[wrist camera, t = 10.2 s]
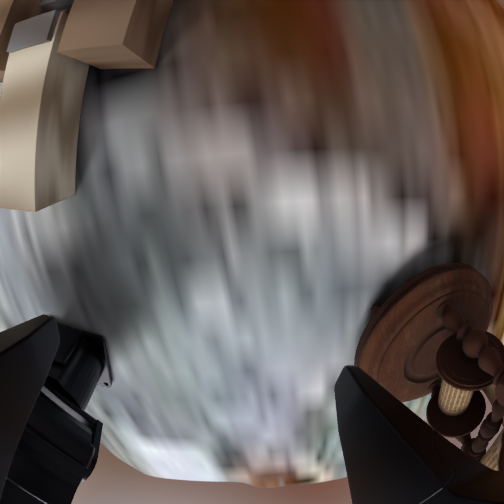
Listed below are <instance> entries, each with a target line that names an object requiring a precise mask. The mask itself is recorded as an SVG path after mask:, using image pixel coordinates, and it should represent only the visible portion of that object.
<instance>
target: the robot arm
mask: <svg viewBox="0 0 504 504" xmlns="http://www.w3.org/2000/svg"><path fill="white" fill-rule="evenodd" d="M99 341H100V342H99ZM96 385H101V386H104V387H108V388H109V387H111V385H112V380H111V375H110V369H109V364H108V358H107V351H106V345H105V340H104V338H103V337H101V336H99V335H95V334H92V333H88V332H85V331H81V330H78V329H74V328H71V327H68V326H64V325H61V324H58V323H57V322H56V320H55V318H54V317H52V316H49V315H45V314H43V315H41V316H38V317H36V318H33V319H31V320H29V321H26V322H24V323H21V324H19V325H17V326H14V327H12V328H9V329H7V330H5V331H2V332H0V504H71V502H72V500H73V497H74V494H75V492H76V490H77V487H78V486H79V484H80V483H81V482H84V481H85V480H86V479H87V478H88V477H89V476H90V475H91V473H92V471H93V469H94V467H95V465H96V462H97V458H98V452H99V445H100V439H101V432H102V426H103V423H102V422H100V421H99V420H96V419H94V418H93V417H92V416H90V415H89V414H87V413H86V412H85V409H86V407H87V404H88V402H89V400H90V398H91V396H92V394H93V392H94V389H95V387H96ZM334 390H335V400H336V411H337V422H338V431H339V436H340V441H341V446H342V451H343V456H344V461H345V466H346V471H347V477H348V482H349V487H350V493H351V499H352V504H504V471H497V470H493V469H491V468H489V467H487V466H485V465H484V464H482V463H481V462H479V461H478V460H476V459H474V458H473V457H471V456H470V455H468V454H467V453H465V452H464V451H462V450H461V449H459V448H458V447H456V446H455V445H454V444H452V443H451V442H450V441H448V440H447V439H446V438H444V437H443V436H442V435H441V434H439V433H438V432H437V431H436V430H433V428H432V427H431V426H429V425H428V424H427V423H426V422H425V421H423V420H422V419H421V418H420V417H418V416H417V415H416V414H415V413H414V412H412V411H411V410H410V409H409V408H408V407H406V406H405V405H404V404H403V403H402V402H400V401H399V400H398V399H397V398H396V397H394V396H393V395H392V394H391V393H390V392H388V391H387V390H386V389H385V388H384V387H382V386H381V385H380V384H379V383H378V382H376V381H375V380H374V379H373V378H372V377H371V376H369V375H368V374H367V373H366V372H365V371H363V370H362V369H361V368H360V367H359V366H355V365H347V366H345V367H344V368H343V370H342V372H341V374H340V376H339V378H338V379H337V381H336V384H335V389H334Z"/></svg>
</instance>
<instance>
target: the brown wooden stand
mask: <svg viewBox="0 0 504 504" xmlns="http://www.w3.org/2000/svg"><path fill="white" fill-rule="evenodd" d="M492 309H493V296H492V291H491V287H490V285H489V283H488V281H487V280H486V278H485V277H484V276H483V275H482V274H480V273H479V272H478V271H476V270H475V269H474V268H472V267H470V266H468V265H466V264H462V263H447V264H442V265H438V266H435V267H433V268H430V269H428V270H426V271H424V272H422V273H420V274H418V275H417V276H415V277H414V278H412V279H411V280H409V281H408V282H406V283H405V284H404V285H403V286H401V287H400V288H399V289H398V290H397V291H395V292H394V293H393V294H392V295H391V296H390V297H389V298H388V299H387V300H386V301H385V302H384V304H383V305H382V306H381V307H378V306H373V307H372V308H371V316H372V319H371V320H370V322H369V323H368V325H367V327H366V328H365V330H364V332H363V334H362V336H361V338H360V341H359V343H358V346H357V350H356V354H355V362H354V365H355V366H359V367H360V368H361V369H362V370H363V371H365V372H366V373H367V374H368V375H369V376H371V377H372V378H373V379H374V380H375V381H376V382H378V383H379V384H380V385H381V386H382V387H384V388H385V389H386V390H387V391H388V392H390V393H391V394H392V395H393V396H394V397H396V398H397V399H398V400H399V401H400V402H406V401H410V400H414V399H417V398H420V397H423V396H425V395H428V394H430V393H432V394H431V399H430V401H429V403H428V406H427V411H426V416H427V421H428V423H429V425H430V426H431V427H432V428H433V430H436V431H437V432H438V433H439V434H441V435H442V436H445V437H452V438H453V437H455V438H456V439H457V440H458V441H460V442H461V443H462V444H463V446H462V447H461V450H463V451H464V452H465V453H467V454H468V455H470V456H471V457H473V458H474V459H476V460H478V461H479V462H481V463H482V464H484V465H485V466H487V467H489V468H491V469H493V470H497V471H504V428H503V429H502V431H501V433H500V434H499V436H498V437H497V438H496V440H495V442H494V443H493V444H492V446H491V447H490V448H489V450H488V451H487V453H486V447H487V445H488V442H489V441H490V440H491V439H492V438H493V436H495V434H497V433H498V431H499V429H500V426H501V424H503V427H504V345H503V344H502V342H501V341H500V340H499V339H498V338H497V337H496V336H494V335H493V334H491V333H489V332H486V331H487V329H488V326H489V323H490V320H491V315H492ZM479 390H483V391H484V393H485V394H486V396H487V397H488V399H489V401H490V403H491V404H492V412H490V413H489V414H488V415H487V417H486V419H485V420H484V421H483V423H482V424H481V427H480V430H479V432H478V436H477V437H476V438H472V439H471V436H470V432H472V431H473V430H474V429H475V428H476V427H477V426H478V425H479V424H480V423H481V421H482V419H483V417H484V414H485V410H486V403H485V399H484V397H483V395H482V393H481V392H480V391H479Z"/></svg>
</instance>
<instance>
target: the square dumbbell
mask: <svg viewBox="0 0 504 504" xmlns="http://www.w3.org/2000/svg"><path fill="white" fill-rule="evenodd" d="M173 2H174V0H0V82H3V79H4V74H5V70H6V65H7V61H8V57H9V52H7V48H8V45H9V41H10V38H11V34H12V31H13V28H14V25H15V24H16V23H18V22H21V21H24V20H26V19H29V18H32V17H35V16H38V15H40V14H44V13H47V12H50V11H53V10H58V11H61V10H64V9H67V10H69V11H70V13H69V15H68V18H67V21H66V24H65V27H64V30H63V33H62V37H61V40H60V43H59V47H58V50H57V52H58V53H60V54H63V55H66V56H69V57H71V58H74V59H77V60H79V61H82V62H84V63H87V64H89V65H92V66H94V67H97V68H99V69H124V68H152V69H155V67H156V62H157V58H158V54H159V50H160V46H161V42H162V39H163V35H164V31H165V28H166V24H167V21H168V18H169V14H170V11H171V8H172V5H173Z"/></svg>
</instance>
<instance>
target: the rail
mask: <svg viewBox="0 0 504 504" xmlns="http://www.w3.org/2000/svg"><path fill="white" fill-rule="evenodd" d="M69 13H70V11H69V10H67V9H64V10H61V11H58V10H53V11H50V12H47V13H44V14H40V15H38V16H35V17H32V18H29V19H26V20H24V21H21V22H18V23H16V24H15V25H14V28H13V31H12V34H11V38H10V41H9V45H8V48H7V52H9V57H8V61H7V65H6V70H5V74H4V79H3V84H2V90H1V96H0V208H4V209H13V210H22V211H30V212H37V211H39V210H41V209H43V208H45V207H48V206H50V205H52V204H54V203H57V202H59V201H61V200H64V199H66V198H68V197H71V196H73V195H75V172H76V155H77V142H78V132H79V123H80V115H81V108H82V101H83V95H84V89H85V84H86V79H87V74H88V69H89V64H87V63H84V62H82V61H79V60H77V59H74V58H71V57H69V56H66V55H63V54H60V53H58V52H57V50H58V47H59V43H60V40H61V37H62V33H63V30H64V27H65V24H66V21H67V18H68V15H69Z"/></svg>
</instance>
